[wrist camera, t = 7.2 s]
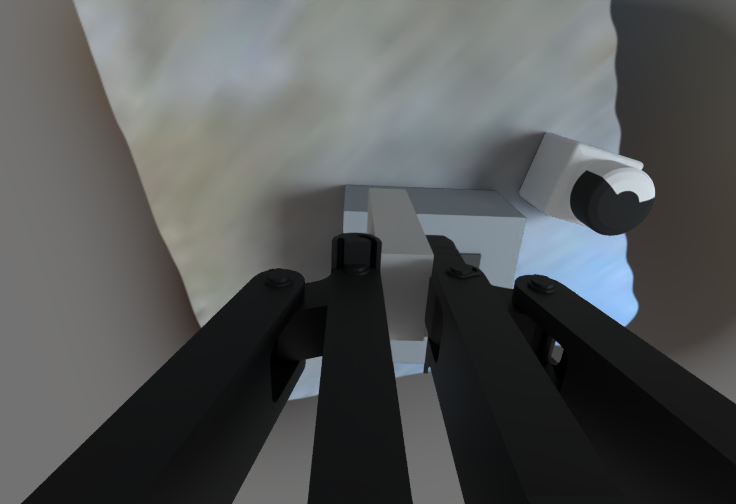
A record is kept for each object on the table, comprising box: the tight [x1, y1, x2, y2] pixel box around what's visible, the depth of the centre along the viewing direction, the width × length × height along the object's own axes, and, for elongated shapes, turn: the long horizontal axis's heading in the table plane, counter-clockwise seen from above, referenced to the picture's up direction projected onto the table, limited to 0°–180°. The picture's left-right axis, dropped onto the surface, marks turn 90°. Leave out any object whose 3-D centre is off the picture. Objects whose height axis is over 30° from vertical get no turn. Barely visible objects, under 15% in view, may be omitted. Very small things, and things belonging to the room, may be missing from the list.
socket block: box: [343, 185, 526, 364], centre depth 49 cm, size 18×18×10 cm
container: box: [519, 132, 655, 236], centre depth 44 cm, size 8×8×13 cm
